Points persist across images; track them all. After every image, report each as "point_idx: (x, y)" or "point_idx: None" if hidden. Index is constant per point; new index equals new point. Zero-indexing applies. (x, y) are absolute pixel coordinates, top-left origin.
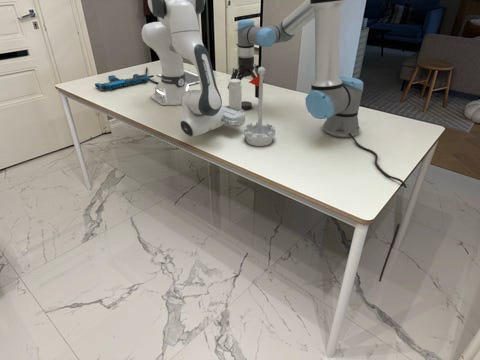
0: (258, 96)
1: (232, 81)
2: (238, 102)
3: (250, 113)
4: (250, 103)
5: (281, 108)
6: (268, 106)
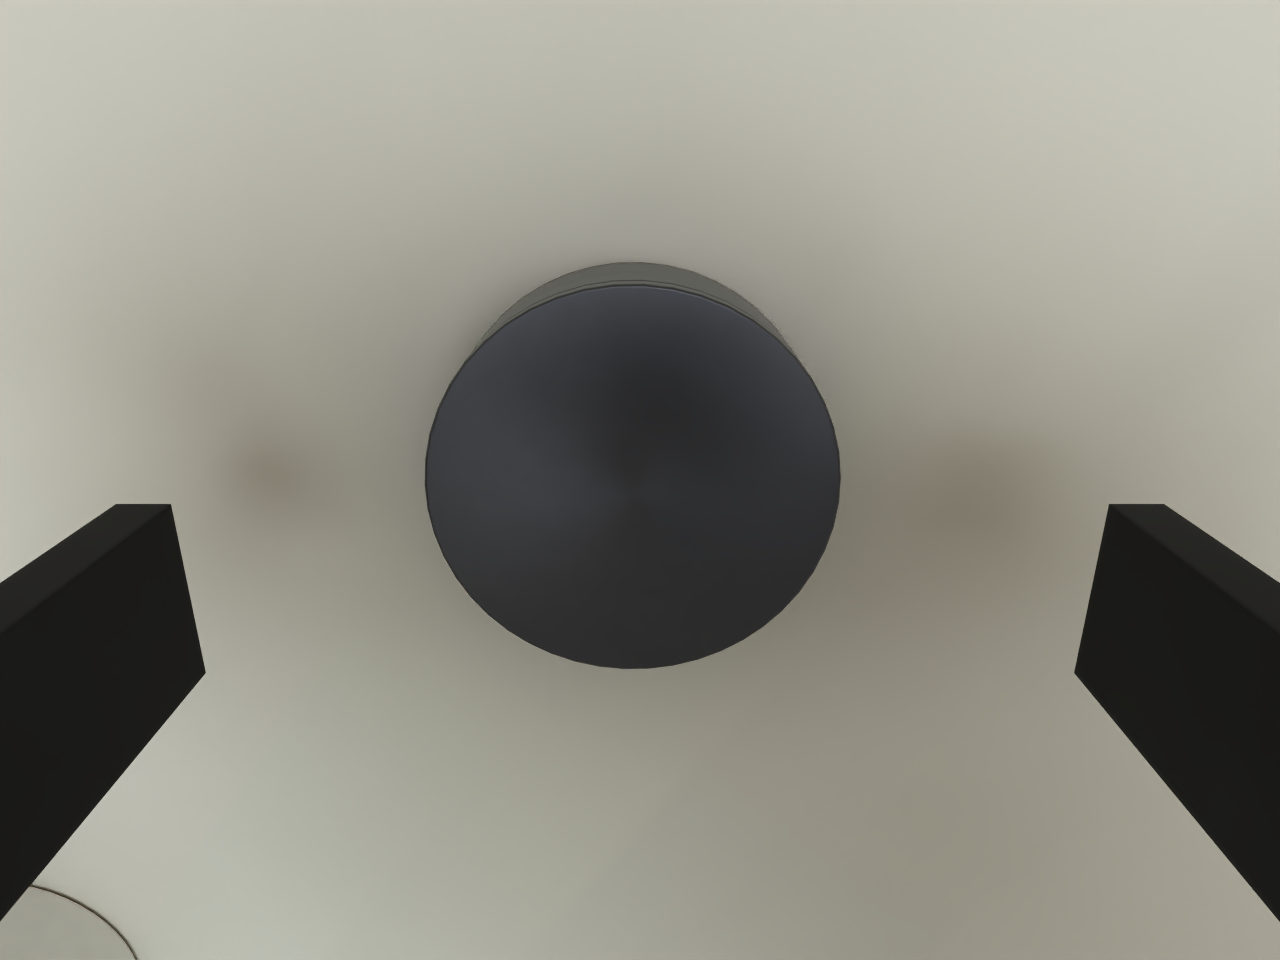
0: (1118, 708)
1: None
2: None
3: (537, 774)
4: (765, 572)
5: None
6: None
